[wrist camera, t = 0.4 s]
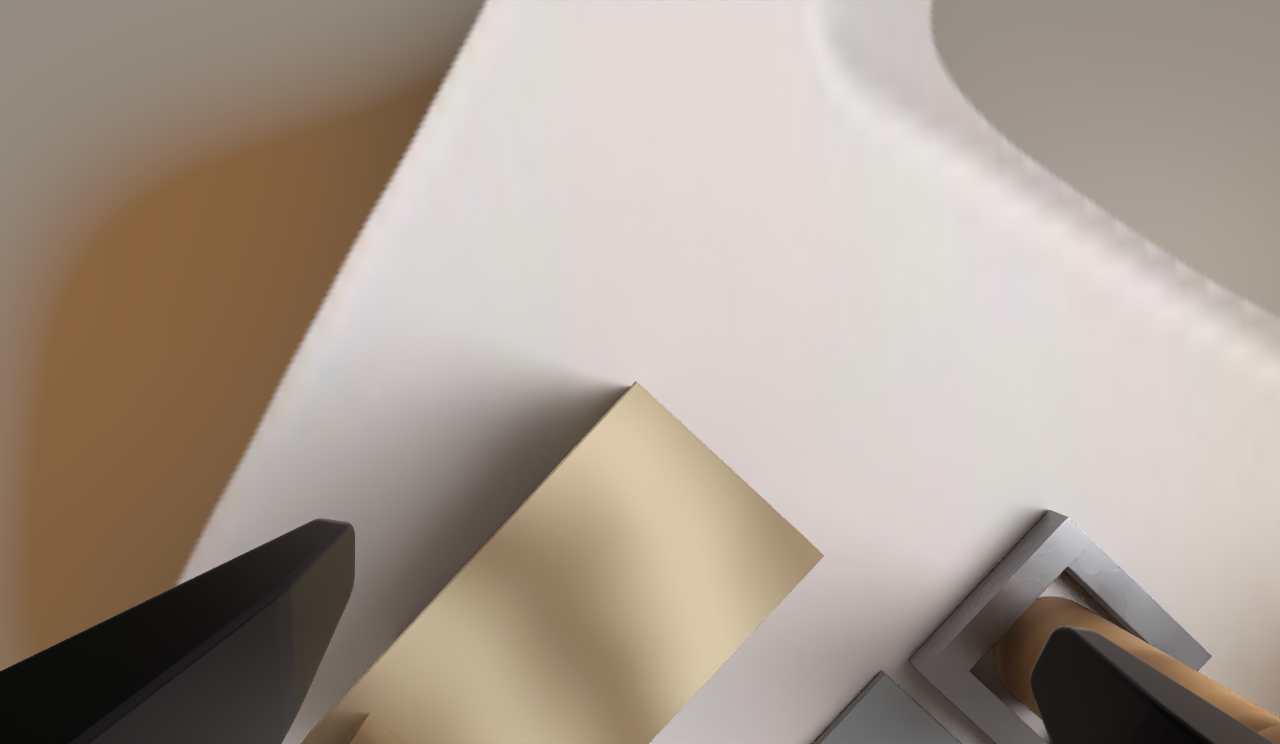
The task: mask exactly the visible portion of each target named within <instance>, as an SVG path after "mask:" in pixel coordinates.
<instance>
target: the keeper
mask: <svg viewBox="0 0 1280 744" xmlns="http://www.w3.org/2000/svg"><path fill="white" fill-rule="evenodd" d="M1063 570H1064V571H1065V572H1066V573H1067V574H1068V575H1069V576H1070V577H1071V578H1073V579H1074V580H1075V581H1076V582H1077V583H1078V584H1079V585H1080V586H1081V587H1082V588H1083V589H1084V590H1085V591H1086V592H1087V593H1088V594H1089V595H1090V596H1091V597H1092V598H1093V599H1094V600H1095V601H1097V602H1098V603H1099V604H1100V605H1101V606H1102V607H1103V608H1104V609H1105V610H1106V611H1107V612H1108V613H1109V614H1110V615H1111V616H1112V617H1113V618H1114V619H1115V620H1116V621H1117V622H1118V623H1119V624H1121V625H1122V626H1123V627H1124V628H1125V629H1126V630H1127V631H1128V632H1129V633H1130V634H1132V635H1134V636H1136V637H1138V638H1139V639H1141V640H1143V641H1145V642H1146V643H1148V644H1150V645H1152V646H1153V647H1155V648H1157V649H1159V650H1160V651H1162V652H1164V653H1166V654H1167V655H1169V656H1171V657H1173V658H1174V659H1176V660H1178V661H1180V662H1181V663H1183V664H1185V665H1187V666H1188V667H1190V668H1192V669H1194V670H1195V671H1198V670H1199V669H1200V668H1201V667H1202V666H1203V665H1204V664H1205V663H1206V662H1207V661H1208V660H1209V659H1210V658H1211V657H1212V656H1211V655H1210V654H1209V653H1208V652H1207V651H1206V650H1205V649H1204V648H1203V647H1202V646H1201V645H1200V644H1199V643H1198V642H1197V641H1196V640H1194V639H1193V638H1192V637H1191V636H1190V635H1189V634H1188V633H1187V632H1186V631H1185V630H1184V629H1183V628H1182V627H1181V626H1180V625H1179V624H1178V623H1177V622H1176V621H1175V620H1174V619H1173V618H1172V617H1171V616H1170V615H1169V614H1168V613H1167V612H1166V611H1165V610H1163V609H1162V608H1161V607H1160V606H1159V605H1158V604H1157V603H1156V602H1155V601H1154V600H1153V599H1152V598H1151V597H1150V596H1149V595H1148V594H1147V593H1146V592H1145V591H1144V590H1143V589H1142V588H1141V587H1140V586H1139V585H1138V584H1137V583H1136V582H1135V581H1134V580H1132V579H1131V578H1130V577H1129V576H1128V575H1127V574H1126V573H1125V572H1124V571H1123V570H1122V569H1121V568H1120V567H1119V566H1118V565H1117V564H1116V563H1115V562H1114V561H1113V560H1112V559H1111V558H1110V557H1109V556H1108V555H1107V554H1106V553H1105V552H1104V551H1103V550H1101V549H1100V548H1099V547H1098V546H1097V545H1096V544H1095V543H1094V542H1093V541H1092V540H1091V539H1090V538H1089V537H1088V536H1087V535H1086V534H1085V533H1084V532H1083V531H1082V530H1081V529H1080V528H1079V527H1078V526H1077V525H1076V524H1075V523H1074V522H1073V521H1072V520H1070V519H1069V518H1068V517H1066V516H1064V515H1061V514H1059V513H1056V512H1054V511H1051V510H1049V511H1048V512H1047V513H1046V514H1045V515H1044V516H1043V517H1042V518H1041V519H1040V520H1039V522H1038V523H1037V524H1036V525H1035V526H1034V527H1033V528H1032V529H1031V530H1030V531H1029V532H1028V533H1027V534H1026V535H1025V536H1024V538H1023V539H1022V540H1021V541H1020V542H1019V543H1018V544H1017V545H1016V546H1015V547H1014V548H1013V549H1012V550H1011V551H1010V552H1009V554H1008V555H1007V556H1006V557H1005V558H1004V559H1003V560H1002V561H1001V562H1000V563H999V564H998V565H997V566H996V567H995V568H994V570H993V571H992V572H991V573H990V574H989V575H988V576H987V577H986V578H985V579H984V580H983V581H982V582H981V583H980V584H979V586H978V587H977V588H976V589H975V590H974V591H973V592H972V593H971V594H970V595H969V596H968V597H967V598H966V599H965V600H964V601H963V603H962V604H961V605H960V606H959V607H958V608H957V609H956V610H955V611H954V612H953V613H952V614H951V615H950V616H949V617H948V619H947V620H946V621H945V622H944V623H943V624H942V625H941V626H940V627H939V628H938V629H937V630H936V631H935V632H934V633H933V635H932V636H931V637H930V638H929V639H928V640H927V641H926V642H925V643H924V644H923V645H922V646H921V647H920V648H919V649H918V651H917V652H916V653H915V654H914V655H913V656H912V657H911V658H910V659H909V661H910V663H911V664H912V665H913V666H914V667H915V668H916V669H917V670H918V671H919V672H920V673H921V674H922V675H923V676H924V677H925V678H926V679H927V680H928V681H929V682H930V683H931V684H932V685H934V686H935V687H936V688H937V689H938V690H939V691H940V692H941V693H942V694H943V695H944V696H946V697H947V698H948V699H949V700H950V701H951V702H952V703H953V704H954V705H955V706H956V707H957V708H959V709H960V710H961V711H962V712H963V713H964V714H965V715H966V716H967V717H968V718H969V719H970V720H972V721H973V722H974V723H975V724H976V725H977V726H978V727H979V728H980V729H981V730H982V731H984V732H985V733H986V734H987V735H988V736H989V737H990V738H991V739H992V740H993V741H994V742H995V743H997V744H1047V743H1046V742H1045V741H1044V740H1043V739H1042V738H1041V737H1040V736H1039V735H1037V734H1036V733H1035V732H1034V731H1033V730H1032V729H1031V728H1030V727H1029V726H1028V725H1027V724H1026V723H1025V722H1023V721H1022V720H1021V719H1020V718H1019V717H1018V716H1017V715H1016V714H1015V713H1014V712H1013V711H1012V710H1011V709H1009V708H1008V707H1007V706H1006V705H1005V704H1004V703H1003V702H1002V701H1001V700H1000V699H999V698H998V697H997V696H995V695H994V694H993V693H992V692H991V691H990V690H989V689H988V688H987V687H986V686H985V685H984V684H983V683H981V682H980V681H979V680H978V679H977V678H976V677H975V676H974V675H973V674H972V673H971V672H970V671H969V670H970V669H971V668H972V667H973V666H974V665H975V664H976V663H977V662H978V661H979V660H980V659H981V658H982V657H983V656H984V655H985V653H986V652H987V651H988V650H989V649H990V648H991V647H992V646H993V645H994V644H995V643H996V642H997V641H998V640H999V639H1000V637H1001V636H1002V635H1003V634H1004V633H1005V632H1006V631H1007V630H1008V629H1009V628H1010V627H1011V626H1012V625H1013V624H1014V623H1015V621H1016V620H1017V619H1018V618H1019V617H1020V616H1021V615H1022V614H1023V613H1024V612H1025V611H1026V610H1027V609H1028V608H1029V607H1030V606H1031V604H1032V603H1033V602H1034V601H1035V600H1036V599H1037V598H1038V597H1039V596H1040V595H1041V594H1042V593H1043V592H1044V591H1045V590H1046V588H1047V587H1048V586H1049V585H1050V584H1051V583H1052V582H1053V581H1054V580H1055V579H1056V578H1057V577H1058V576H1059V575H1060V574H1061V573H1062V571H1063Z"/></svg>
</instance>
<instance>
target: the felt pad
mask: <svg viewBox="0 0 1280 744" xmlns="http://www.w3.org/2000/svg"><path fill="white" fill-rule="evenodd" d="M813 744H961V743H960V742H959V741H958V740H957V739H956V738H955V737H954V736H952V735H951V734H950V733H949V732H948V731H947V730H946V729H945V728H944V727H943V726H942V725H940V724H939V723H938V722H937V721H936V720H935V719H934V718H933V717H932V716H931V715H930V714H928V713H927V712H926V711H925V710H924V709H923V708H922V707H921V706H920V705H919V704H918V703H916V702H915V701H914V700H913V699H912V698H911V697H910V696H909V695H908V694H907V693H906V692H904V691H903V690H902V689H901V688H900V687H899V686H898V685H897V684H896V683H895V682H894V681H892V680H891V679H890V678H889V677H888V676H887V675H886V674H885V673H884V672H883V671H881V672H880V673H879V674H878V675H877V676H876V677H875V678H874V680H873V681H872V682H871V683H870V684H869V685H868V686H867V687H866V688H865V689H864V690H863V691H862V692H861V693H860V694H859V695H858V697H857V698H856V699H855V700H854V701H853V702H852V703H851V704H850V705H849V706H848V707H847V708H846V709H845V710H844V711H843V713H842V714H841V715H840V716H839V717H838V718H837V719H836V720H835V721H834V722H833V723H832V724H831V725H830V726H829V727H828V729H827V730H826V731H825V732H824V733H823V734H822V735H821V736H820V737H819V738H818V739H817V740H816V741H815V742H814V743H813Z"/></svg>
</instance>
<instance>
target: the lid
mask: <svg viewBox="0 0 1280 744" xmlns="http://www.w3.org/2000/svg"><path fill="white" fill-rule="evenodd" d="M823 557H824V555H823V554H822V553H821V552H820V551H819V550H818V549H817V548H816V547H815V546H814V545H813V544H812V543H811V542H809V541H808V540H807V539H806V538H805V537H804V536H803V535H802V534H801V533H800V532H799V531H798V530H797V529H795V528H794V527H793V526H792V525H791V524H790V523H789V522H788V521H787V520H786V519H785V518H784V517H782V516H781V515H780V514H779V513H778V512H777V511H776V510H775V509H774V508H773V507H772V506H771V505H769V504H768V503H767V502H766V501H765V500H764V499H763V498H762V497H761V496H760V495H759V494H758V493H757V492H755V491H754V490H753V489H752V488H751V487H750V486H749V485H748V484H747V483H746V482H745V481H744V480H742V479H741V478H740V477H739V476H738V475H737V474H736V473H735V472H734V471H733V470H732V469H731V468H730V467H728V466H727V465H726V464H725V463H724V462H723V461H722V460H721V459H720V458H719V457H718V456H717V455H715V454H714V453H713V452H712V451H711V450H710V449H709V448H708V447H707V446H706V445H705V444H704V443H703V442H701V441H700V440H699V439H698V438H697V437H696V436H695V435H694V434H693V433H692V432H691V431H690V430H688V429H687V428H686V427H685V426H684V425H683V424H682V423H681V422H680V421H679V420H678V419H677V418H675V417H674V416H673V415H672V414H671V413H670V412H669V411H668V410H667V409H666V408H665V407H664V406H663V405H661V404H660V403H659V402H658V401H657V400H656V399H655V398H654V397H653V396H652V395H651V394H650V393H648V392H647V391H646V390H645V389H644V388H643V387H642V386H641V385H640V384H639V383H638V382H637V381H635V382H634V383H633V385H632V386H631V387H630V388H629V389H628V390H627V391H626V392H625V393H624V394H623V395H622V396H621V397H620V399H619V400H618V401H617V402H616V403H615V404H614V405H613V406H612V407H611V408H610V409H609V410H608V411H607V413H606V414H605V415H604V416H603V417H602V418H601V419H600V420H599V421H598V422H597V423H596V424H595V425H594V427H593V428H592V429H591V430H590V431H589V432H588V433H587V434H586V435H585V436H584V437H583V438H582V439H581V441H580V442H579V443H578V444H577V445H576V446H575V447H574V448H573V449H572V450H571V451H570V452H569V453H568V455H567V456H566V457H565V458H564V459H563V460H562V461H561V462H560V463H559V464H558V465H557V466H556V467H555V469H554V470H553V471H552V472H551V473H550V474H549V475H548V476H547V477H546V478H545V479H544V480H543V481H542V483H541V484H540V485H539V486H538V487H537V488H536V489H535V490H534V491H533V492H532V493H531V494H530V495H529V497H528V498H527V499H526V500H525V501H524V502H523V503H522V504H521V505H520V506H519V507H518V508H517V509H516V511H515V512H514V513H513V514H512V515H511V516H510V517H509V518H508V519H507V520H506V521H505V522H504V523H503V525H502V526H501V527H500V528H499V529H498V530H497V531H496V532H495V533H494V534H493V535H492V536H491V537H490V539H489V540H488V541H487V542H486V543H485V544H484V545H483V546H482V547H481V548H480V549H479V550H478V551H477V553H476V554H475V555H474V556H473V557H472V558H471V559H470V560H469V561H468V562H467V563H466V564H465V565H464V567H463V568H462V569H461V570H460V571H459V572H458V573H457V574H456V575H455V576H454V577H453V578H452V579H451V581H450V582H449V583H448V584H447V585H446V586H445V587H444V588H443V589H442V590H441V591H440V592H439V593H438V595H437V596H436V597H435V598H434V599H433V600H432V601H431V602H430V603H429V604H428V605H427V606H426V607H425V609H424V610H423V611H422V612H421V613H420V614H419V615H418V616H417V617H416V618H415V619H414V620H413V621H412V623H411V624H410V625H409V626H408V627H407V628H406V629H405V630H404V631H403V632H402V633H401V634H400V635H399V637H398V638H397V639H396V640H395V641H394V642H393V643H392V644H391V645H390V646H389V647H388V648H387V649H386V651H385V652H384V653H383V654H382V655H381V656H380V657H379V658H378V659H377V660H376V661H375V662H374V663H373V665H372V666H371V667H370V668H369V669H368V670H367V671H366V672H365V673H364V674H363V675H362V676H361V677H360V679H359V680H358V681H357V682H356V683H355V684H354V685H353V686H352V687H351V688H350V689H349V690H348V691H347V693H346V694H345V695H344V696H343V697H342V698H341V699H340V700H339V701H338V702H337V703H336V704H335V705H334V707H333V708H332V709H331V710H330V711H329V712H328V713H327V714H326V715H325V716H324V717H323V718H322V719H321V721H320V722H319V723H318V724H317V725H316V726H315V727H314V728H313V729H312V730H311V731H310V733H309V734H308V735H307V736H306V738H305V739H304V740H303V742H302V743H301V744H649V743H650V742H651V741H652V739H653V738H654V737H655V736H656V735H657V734H658V733H659V732H660V731H661V730H662V729H663V728H664V727H665V726H666V724H667V723H668V722H669V721H670V720H671V719H672V718H673V717H674V716H675V715H676V714H677V713H678V712H679V711H680V710H681V708H682V707H683V706H684V705H685V704H686V703H687V702H688V701H689V700H690V699H691V698H692V697H693V696H694V695H695V693H696V692H697V691H698V690H699V689H700V688H701V687H702V686H703V685H704V684H705V683H706V682H707V681H708V680H709V678H710V677H711V676H712V675H713V674H714V673H715V672H716V671H717V670H718V669H719V668H720V667H721V666H722V665H723V664H724V662H725V661H726V660H727V659H728V658H729V657H730V656H731V655H732V654H733V653H734V652H735V651H736V650H737V649H738V647H739V646H740V645H741V644H742V643H743V642H744V641H745V640H746V639H747V638H748V637H749V636H750V635H751V634H752V632H753V631H754V630H755V629H756V628H757V627H758V626H759V625H760V624H761V623H762V622H763V621H764V620H765V619H766V618H767V616H768V615H769V614H770V613H771V612H772V611H773V610H774V609H775V608H776V607H777V606H778V605H779V604H780V603H781V601H782V600H783V599H784V598H785V597H786V596H787V595H788V594H789V593H790V592H791V591H792V590H793V589H794V588H795V586H796V585H797V584H798V583H799V582H800V581H801V580H802V579H803V578H804V577H805V576H806V575H807V574H808V573H809V571H810V570H811V569H812V568H813V567H814V566H815V565H816V564H817V563H818V562H819V561H820V560H821V559H822V558H823Z"/></svg>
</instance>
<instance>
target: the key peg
mask: <svg viewBox="0 0 1280 744" xmlns="http://www.w3.org/2000/svg"><path fill="white" fill-rule="evenodd" d="M1059 626H1071V627H1078V628H1085V629H1090V630H1093V631H1095V632H1097V633H1099V634H1101V635H1102V636H1104V637H1105V638H1107V639H1109V640H1110V641H1112V642H1113V643H1115V644H1117V645H1118V646H1120V647H1121V648H1123V649H1125V650H1126V651H1128V652H1129V653H1131V654H1133V655H1134V656H1136V657H1137V658H1139V659H1141V660H1142V661H1144V662H1145V663H1147V664H1149V665H1150V666H1152V667H1153V668H1155V669H1157V670H1158V671H1160V672H1161V673H1163V674H1164V675H1166V676H1168V677H1169V678H1171V679H1172V680H1174V681H1176V682H1177V683H1179V684H1180V685H1182V686H1184V687H1185V688H1187V689H1188V690H1190V691H1192V692H1193V693H1195V694H1196V695H1198V696H1200V697H1201V698H1203V699H1204V700H1206V701H1208V702H1209V703H1211V704H1212V705H1214V706H1216V707H1217V708H1219V709H1220V710H1222V711H1224V712H1225V713H1227V714H1228V715H1230V716H1231V717H1233V718H1235V719H1236V720H1238V721H1239V722H1241V723H1243V724H1244V725H1246V726H1247V727H1249V728H1251V729H1252V730H1254V731H1255V732H1257V733H1259V734H1260V735H1262V736H1263V737H1265V738H1267V739H1268V740H1270V741H1271V742H1273V743H1275V744H1280V718H1278V717H1276V716H1275V715H1273V714H1271V713H1269V712H1268V711H1266V710H1264V709H1262V708H1260V707H1259V706H1257V705H1255V704H1253V703H1252V702H1250V701H1248V700H1246V699H1245V698H1243V697H1241V696H1239V695H1238V694H1236V693H1234V692H1232V691H1231V690H1229V689H1227V688H1225V687H1224V686H1222V685H1220V684H1218V683H1217V682H1215V681H1213V680H1211V679H1210V678H1208V677H1206V676H1204V675H1203V674H1201V673H1199V672H1197V671H1195V670H1194V669H1192V668H1190V667H1188V666H1187V665H1185V664H1183V663H1181V662H1180V661H1178V660H1176V659H1174V658H1173V657H1171V656H1169V655H1167V654H1166V653H1164V652H1162V651H1160V650H1159V649H1157V648H1155V647H1153V646H1152V645H1150V644H1148V643H1146V642H1145V641H1143V640H1141V639H1139V638H1138V637H1136V636H1134V635H1132V634H1130V633H1129V632H1127V631H1125V630H1123V629H1122V628H1120V627H1118V626H1116V625H1115V624H1113V623H1111V622H1109V621H1108V620H1106V619H1104V618H1102V617H1101V616H1099V615H1097V614H1095V613H1094V612H1092V611H1090V610H1088V609H1087V608H1085V607H1083V606H1081V605H1080V604H1078V603H1076V602H1074V601H1071V600H1069V599H1065V598H1060V597H1044V598H1039V599H1036V600H1035V601H1034V602H1033V603H1032V604H1031V606H1030V607H1029V608H1028V609H1027V610H1026V611H1025V612H1024V613H1023V614H1022V615H1021V616H1020V617H1019V618H1018V619H1017V620H1016V621H1015V623H1014V624H1013V625H1012V626H1011V627H1010V628H1009V629H1008V630H1007V631H1006V632H1005V633H1004V634H1003V635H1002V636H1001V637H1000V639H999V640H998V641H997V642H996V645H995V664H996V669H997V672H998V674H999V677H1000V679H1001V681H1002V682H1003V684H1004V685H1005V687H1006V688H1007V689H1008V690H1009V691H1010V692H1011V693H1012V694H1013V695H1014V696H1015V697H1017V698H1018V699H1019V700H1020V701H1021V702H1022V703H1023V704H1024V705H1026V706H1027V707H1028V708H1029V709H1030V710H1031V711H1032V712H1033V713H1035V714H1036V715H1037V716H1038V717H1039V718H1040V719H1041V720H1042V718H1041V715H1040V713H1039V710H1038V708H1037V705H1036V703H1035V700H1034V697H1033V695H1032V692H1031V687H1030V674H1031V671H1032V668H1033V666H1034V664H1035V662H1036V660H1037V658H1038V657H1039V655H1040V653H1041V651H1042V649H1043V647H1044V645H1045V643H1046V641H1047V639H1048V637H1049V635H1050V634H1051V632H1052V631H1053V630H1054V629H1055V628H1057V627H1059Z"/></svg>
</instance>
